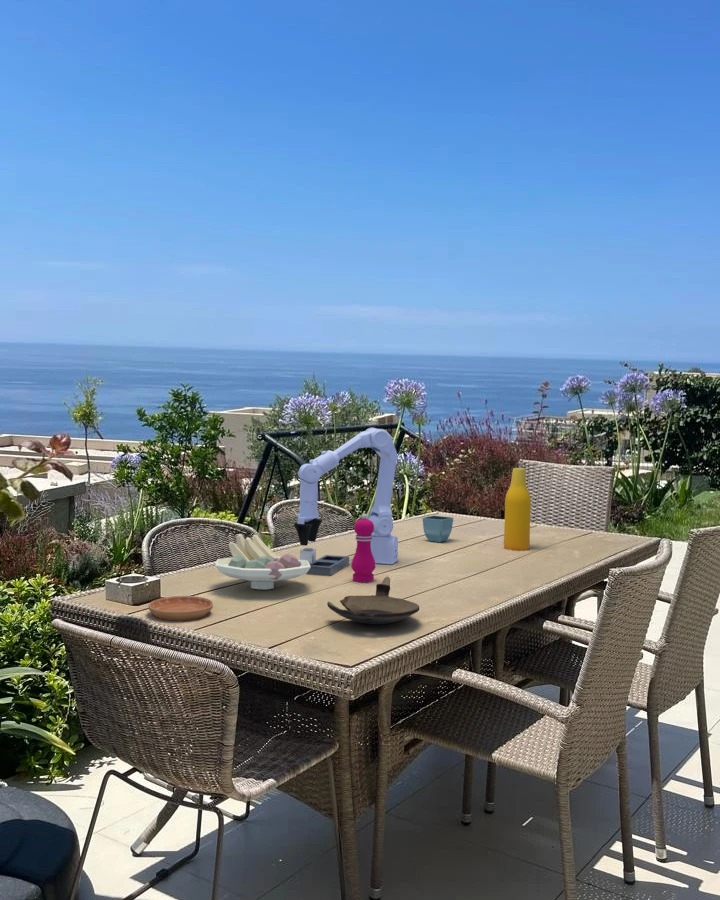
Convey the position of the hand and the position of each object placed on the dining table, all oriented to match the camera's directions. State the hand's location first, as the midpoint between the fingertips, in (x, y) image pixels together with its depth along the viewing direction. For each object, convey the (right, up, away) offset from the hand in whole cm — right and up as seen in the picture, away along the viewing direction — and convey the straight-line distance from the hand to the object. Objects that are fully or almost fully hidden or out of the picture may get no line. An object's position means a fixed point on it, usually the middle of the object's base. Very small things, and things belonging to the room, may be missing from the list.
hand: (307, 543), depth 291 cm
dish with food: (-11, -10, -33) cm, 36 cm away
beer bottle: (+73, -6, +37) cm, 83 cm away
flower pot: (+46, -5, +49) cm, 68 cm away
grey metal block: (0, -7, +1) cm, 7 cm away
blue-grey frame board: (+7, -8, -5) cm, 11 cm away
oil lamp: (+22, -13, -65) cm, 70 cm away
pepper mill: (+18, -9, -20) cm, 28 cm away
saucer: (-28, -12, -63) cm, 70 cm away
